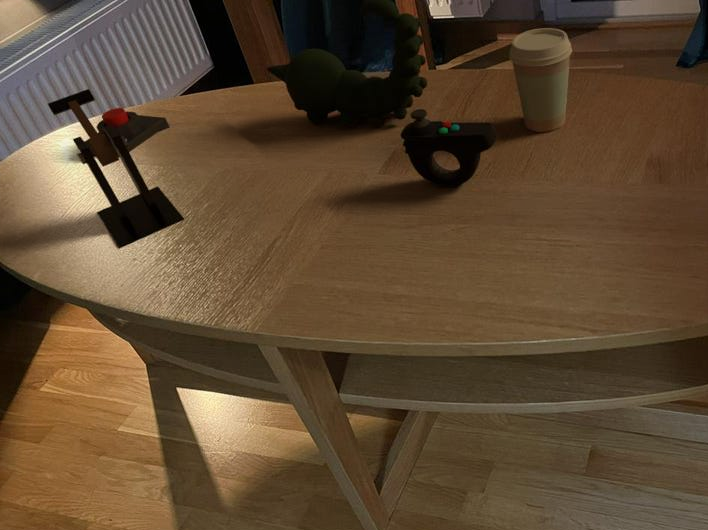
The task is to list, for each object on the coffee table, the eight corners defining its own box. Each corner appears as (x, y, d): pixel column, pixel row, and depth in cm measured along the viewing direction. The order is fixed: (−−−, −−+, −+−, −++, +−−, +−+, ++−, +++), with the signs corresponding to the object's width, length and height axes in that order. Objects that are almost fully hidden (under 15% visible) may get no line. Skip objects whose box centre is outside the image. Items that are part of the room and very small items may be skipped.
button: (118, 129, 112) (112, 119, 111) (102, 127, 114) (96, 117, 112) (134, 118, 114) (128, 108, 113) (118, 117, 116) (113, 107, 115)
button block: (124, 163, 111) (112, 139, 109) (85, 157, 115) (72, 135, 112) (171, 129, 118) (160, 107, 115) (132, 125, 122) (121, 103, 119)
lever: (53, 113, 94) (44, 98, 92) (93, 98, 96) (85, 83, 94) (90, 172, 89) (81, 157, 87) (132, 155, 91) (125, 140, 89)
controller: (418, 174, 97) (403, 104, 90) (504, 175, 94) (496, 103, 87) (408, 191, 94) (392, 120, 87) (497, 192, 91) (488, 119, 84)
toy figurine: (436, 113, 113) (291, 106, 117) (424, -13, 100) (261, -17, 104) (421, 142, 107) (268, 133, 111) (407, 11, 93) (233, 6, 97)
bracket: (100, 219, 100) (50, 135, 91) (161, 193, 103) (118, 110, 94) (123, 254, 92) (70, 167, 83) (187, 225, 95) (143, 138, 86)
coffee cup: (586, 123, 101) (584, 37, 92) (535, 143, 99) (528, 57, 90) (554, 103, 107) (549, 21, 98) (505, 121, 104) (496, 39, 96)
